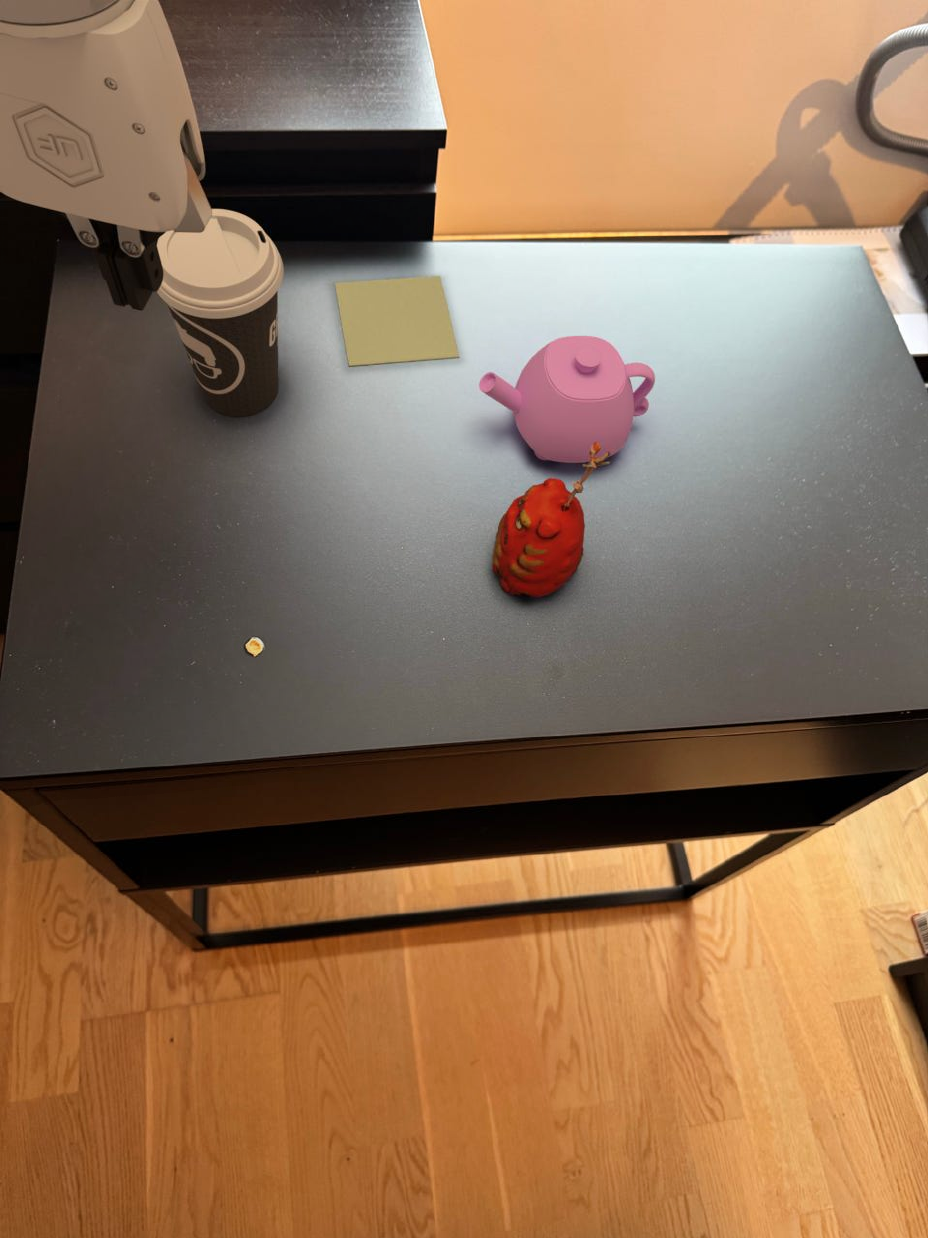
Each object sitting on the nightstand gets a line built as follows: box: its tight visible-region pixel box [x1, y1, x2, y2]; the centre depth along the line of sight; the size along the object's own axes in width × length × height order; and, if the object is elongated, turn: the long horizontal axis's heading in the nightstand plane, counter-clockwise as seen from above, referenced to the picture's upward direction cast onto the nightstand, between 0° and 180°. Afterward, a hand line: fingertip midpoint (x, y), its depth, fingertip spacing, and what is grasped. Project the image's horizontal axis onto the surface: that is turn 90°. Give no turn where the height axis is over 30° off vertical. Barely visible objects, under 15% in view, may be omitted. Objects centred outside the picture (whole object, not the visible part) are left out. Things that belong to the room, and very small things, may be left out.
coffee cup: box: [156, 208, 285, 418], centre depth 72 cm, size 10×10×15 cm
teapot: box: [478, 335, 656, 464], centre depth 75 cm, size 10×15×9 cm
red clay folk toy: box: [491, 442, 611, 598], centre depth 66 cm, size 8×7×15 cm
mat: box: [334, 275, 460, 368], centre depth 83 cm, size 10×10×1 cm
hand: (138, 290), depth 53 cm, fingers closed
